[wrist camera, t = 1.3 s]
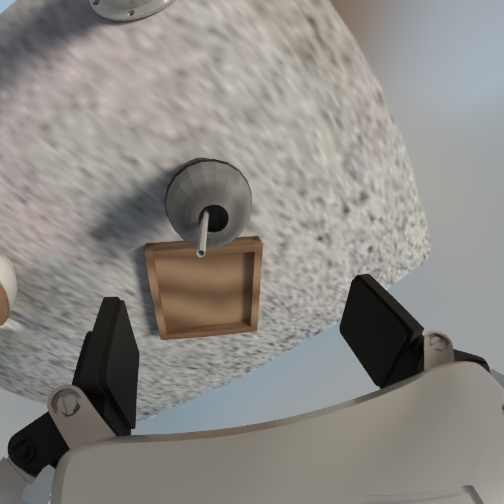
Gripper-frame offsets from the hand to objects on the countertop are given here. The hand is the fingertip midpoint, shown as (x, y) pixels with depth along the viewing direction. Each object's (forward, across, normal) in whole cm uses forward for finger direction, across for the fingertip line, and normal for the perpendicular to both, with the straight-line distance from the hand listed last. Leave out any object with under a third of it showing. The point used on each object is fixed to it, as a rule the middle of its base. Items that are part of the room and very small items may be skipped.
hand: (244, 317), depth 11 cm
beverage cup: (+26, 0, -1) cm, 26 cm away
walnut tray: (+26, 0, +15) cm, 30 cm away
